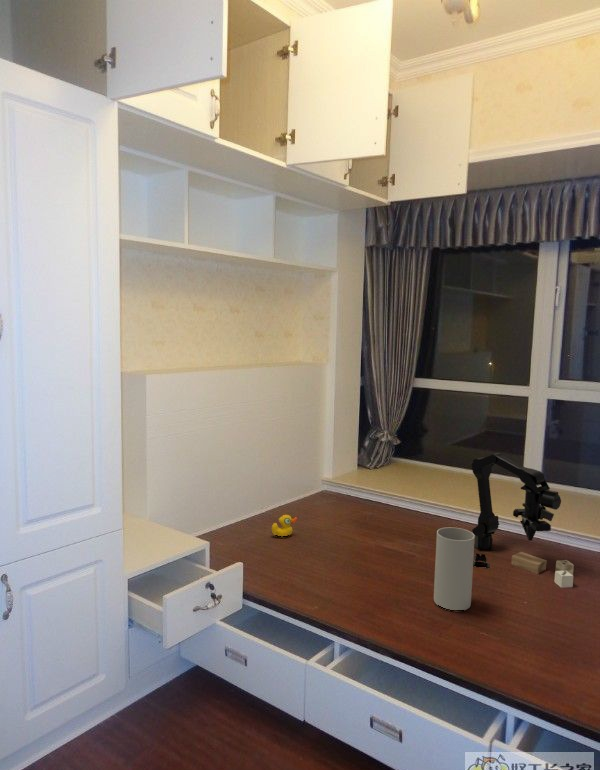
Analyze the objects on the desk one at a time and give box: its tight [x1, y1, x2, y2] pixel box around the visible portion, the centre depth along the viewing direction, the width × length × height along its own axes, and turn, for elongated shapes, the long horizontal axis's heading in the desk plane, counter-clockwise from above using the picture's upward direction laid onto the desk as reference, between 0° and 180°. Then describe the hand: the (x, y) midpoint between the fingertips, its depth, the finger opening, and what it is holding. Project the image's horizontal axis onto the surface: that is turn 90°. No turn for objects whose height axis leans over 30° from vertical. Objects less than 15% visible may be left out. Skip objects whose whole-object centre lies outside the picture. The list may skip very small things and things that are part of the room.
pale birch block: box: [555, 559, 575, 576], centre depth 224 cm, size 4×4×5 cm
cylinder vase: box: [433, 526, 475, 611], centre depth 197 cm, size 12×12×25 cm
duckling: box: [271, 514, 298, 536], centre depth 256 cm, size 11×5×10 cm, turn 103°
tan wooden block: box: [511, 551, 548, 575], centre depth 230 cm, size 7×11×4 cm, turn 40°
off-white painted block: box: [554, 570, 574, 589], centre depth 215 cm, size 4×4×5 cm
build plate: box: [473, 553, 491, 569], centre depth 231 cm, size 12×7×5 cm, turn 77°
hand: (530, 540), depth 229 cm, fingers closed
